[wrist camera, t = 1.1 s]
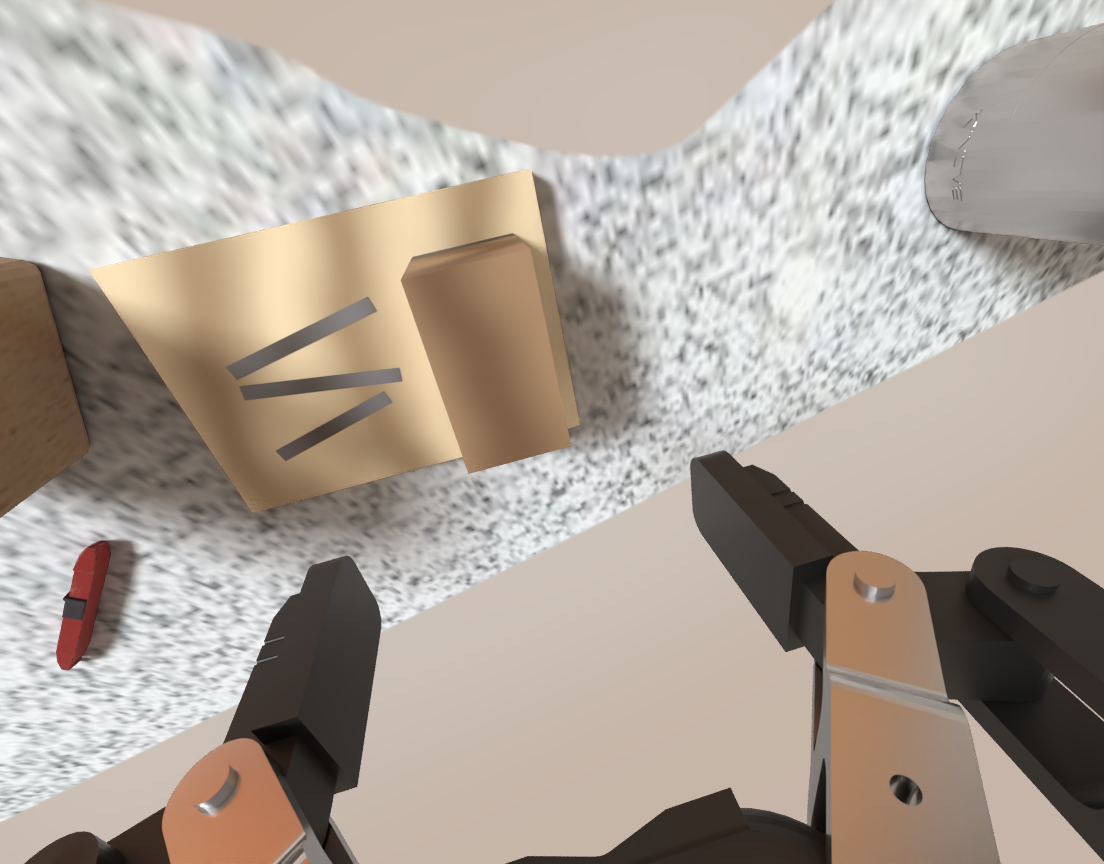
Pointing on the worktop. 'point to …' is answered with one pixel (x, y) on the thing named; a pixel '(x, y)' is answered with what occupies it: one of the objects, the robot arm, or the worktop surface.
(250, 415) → the pine board
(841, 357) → the worktop surface
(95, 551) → the utility knife
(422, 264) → the block
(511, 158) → the worktop surface
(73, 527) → the worktop surface
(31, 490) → the wooden block
